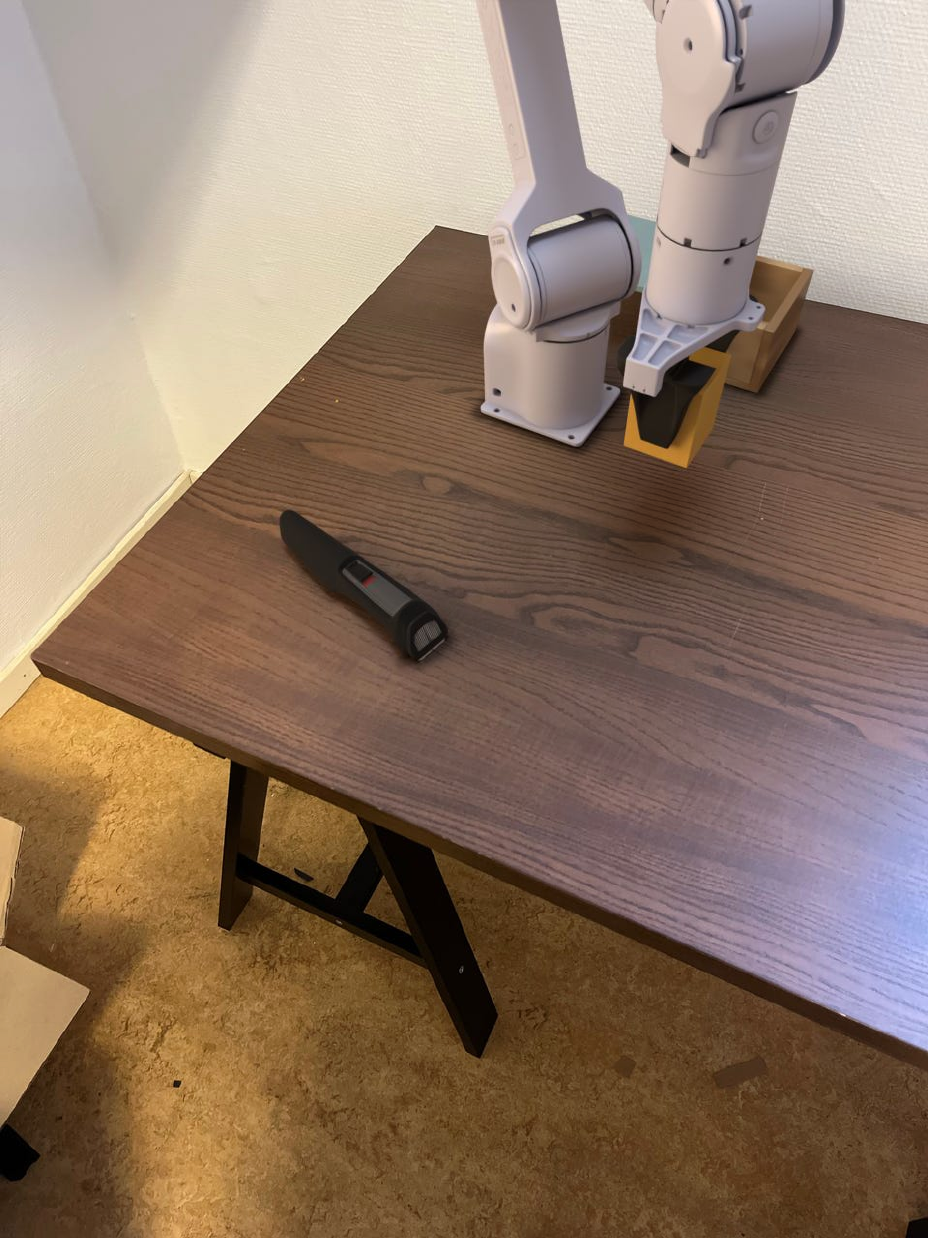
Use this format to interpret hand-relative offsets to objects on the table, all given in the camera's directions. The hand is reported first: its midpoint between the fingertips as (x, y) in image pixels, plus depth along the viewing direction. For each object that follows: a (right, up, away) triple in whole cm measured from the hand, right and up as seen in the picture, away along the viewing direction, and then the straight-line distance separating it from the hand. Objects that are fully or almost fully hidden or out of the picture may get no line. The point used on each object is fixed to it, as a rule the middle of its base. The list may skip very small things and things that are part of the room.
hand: (671, 418), depth 57 cm
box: (+9, +11, +20) cm, 24 cm away
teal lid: (+2, +18, +17) cm, 25 cm away
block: (0, -1, +1) cm, 2 cm away
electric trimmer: (-21, -12, +4) cm, 25 cm away
